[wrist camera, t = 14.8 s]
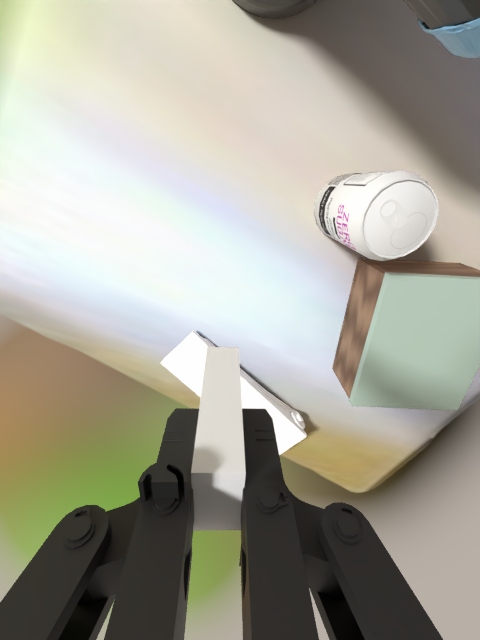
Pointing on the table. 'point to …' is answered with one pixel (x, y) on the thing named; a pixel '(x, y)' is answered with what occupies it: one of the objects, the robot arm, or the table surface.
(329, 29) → the table surface
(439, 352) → the lid
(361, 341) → the walnut box
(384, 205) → the supplement can
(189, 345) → the white rectangular bar
